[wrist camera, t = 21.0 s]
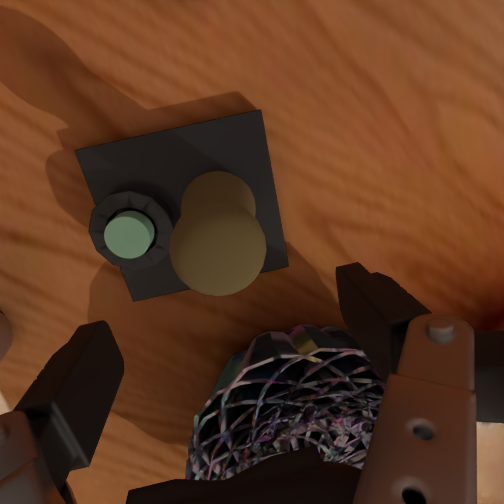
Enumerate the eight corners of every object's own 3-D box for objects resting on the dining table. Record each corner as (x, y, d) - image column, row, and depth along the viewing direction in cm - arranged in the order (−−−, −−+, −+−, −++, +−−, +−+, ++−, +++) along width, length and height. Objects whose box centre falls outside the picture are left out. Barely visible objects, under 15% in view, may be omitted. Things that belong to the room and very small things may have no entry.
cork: (164, 199, 26) (128, 248, 16) (227, 154, 25) (233, 174, 15) (210, 257, 28) (205, 333, 18) (269, 217, 27) (301, 272, 17)
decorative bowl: (213, 487, 43) (212, 590, 34) (153, 317, 31) (128, 409, 22) (404, 448, 43) (453, 539, 34) (419, 268, 31) (502, 336, 22)
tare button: (119, 254, 26) (113, 263, 24) (104, 215, 25) (96, 222, 23) (159, 245, 26) (155, 253, 24) (146, 206, 25) (141, 212, 23)
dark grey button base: (131, 296, 30) (122, 313, 27) (74, 150, 25) (56, 153, 22) (286, 260, 30) (292, 274, 27) (259, 110, 25) (264, 107, 23)
